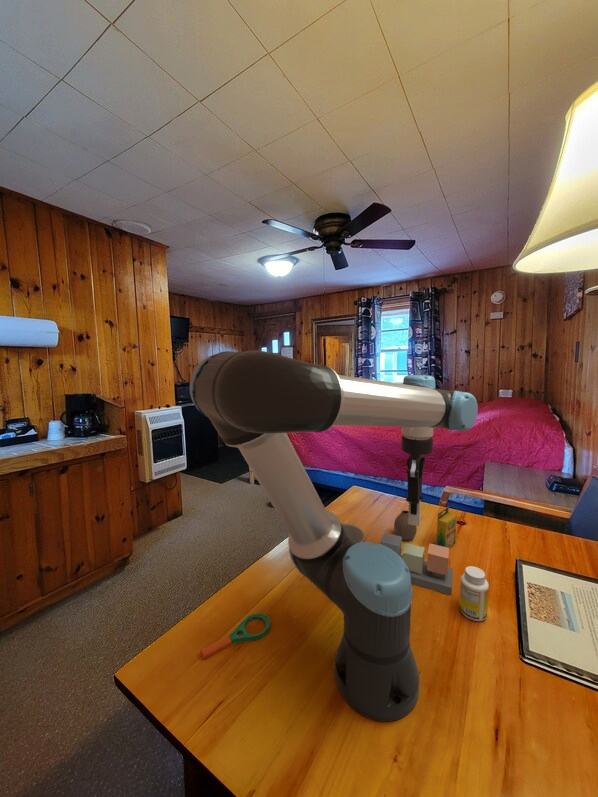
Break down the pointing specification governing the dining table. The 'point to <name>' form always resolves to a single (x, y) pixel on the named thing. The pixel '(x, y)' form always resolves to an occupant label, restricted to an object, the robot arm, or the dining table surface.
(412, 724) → the dining table surface
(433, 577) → the button board
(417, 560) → the button sage
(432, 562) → the button terracotta
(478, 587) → the supplement bottle
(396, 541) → the button slate
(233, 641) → the magnifying glass
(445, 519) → the crayon box
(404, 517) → the vase
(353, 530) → the teacup
